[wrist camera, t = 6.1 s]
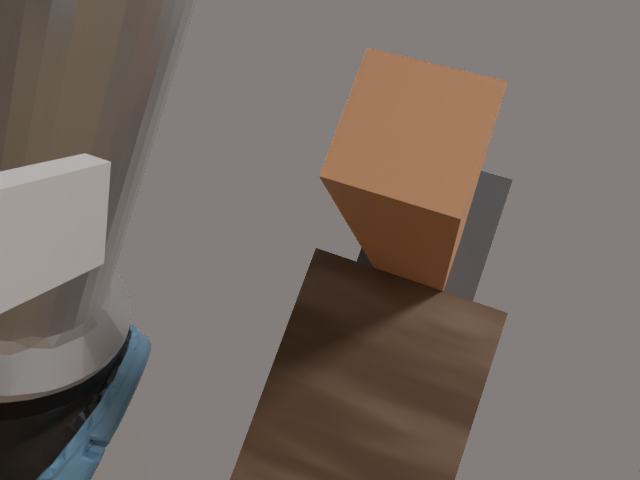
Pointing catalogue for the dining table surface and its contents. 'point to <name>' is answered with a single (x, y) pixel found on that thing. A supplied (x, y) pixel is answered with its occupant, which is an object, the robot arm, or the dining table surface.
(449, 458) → the stand
